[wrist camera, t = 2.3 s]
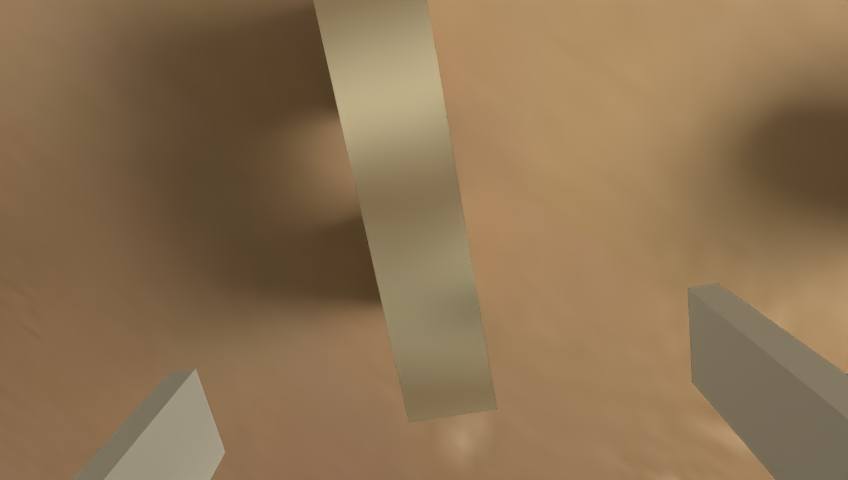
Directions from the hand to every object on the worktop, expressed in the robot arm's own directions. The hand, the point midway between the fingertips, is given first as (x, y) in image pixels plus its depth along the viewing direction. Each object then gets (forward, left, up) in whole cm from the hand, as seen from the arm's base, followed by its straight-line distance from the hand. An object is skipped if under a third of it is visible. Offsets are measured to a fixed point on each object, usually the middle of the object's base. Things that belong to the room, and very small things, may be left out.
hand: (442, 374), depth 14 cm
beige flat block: (+2, +4, -13) cm, 14 cm away
